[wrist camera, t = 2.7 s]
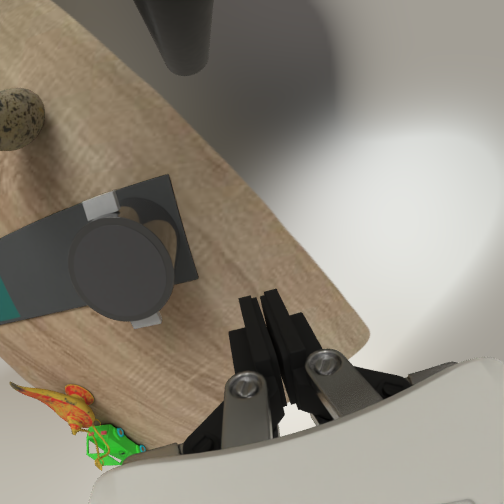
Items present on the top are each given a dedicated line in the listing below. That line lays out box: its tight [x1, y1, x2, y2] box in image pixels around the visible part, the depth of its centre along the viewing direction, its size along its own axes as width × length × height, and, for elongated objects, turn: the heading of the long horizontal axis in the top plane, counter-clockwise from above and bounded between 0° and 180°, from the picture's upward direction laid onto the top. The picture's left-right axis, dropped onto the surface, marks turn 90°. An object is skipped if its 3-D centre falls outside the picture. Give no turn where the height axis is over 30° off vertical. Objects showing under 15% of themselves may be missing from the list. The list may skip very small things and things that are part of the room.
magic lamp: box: [10, 382, 110, 470], centre depth 27 cm, size 7×18×11 cm, turn 37°
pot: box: [68, 190, 181, 329], centre depth 23 cm, size 12×9×7 cm
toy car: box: [87, 424, 146, 466], centre depth 36 cm, size 11×7×7 cm, turn 20°
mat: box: [0, 174, 198, 325], centre depth 25 cm, size 36×11×1 cm, turn 101°
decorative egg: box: [0, 88, 45, 151], centre depth 15 cm, size 6×6×10 cm
